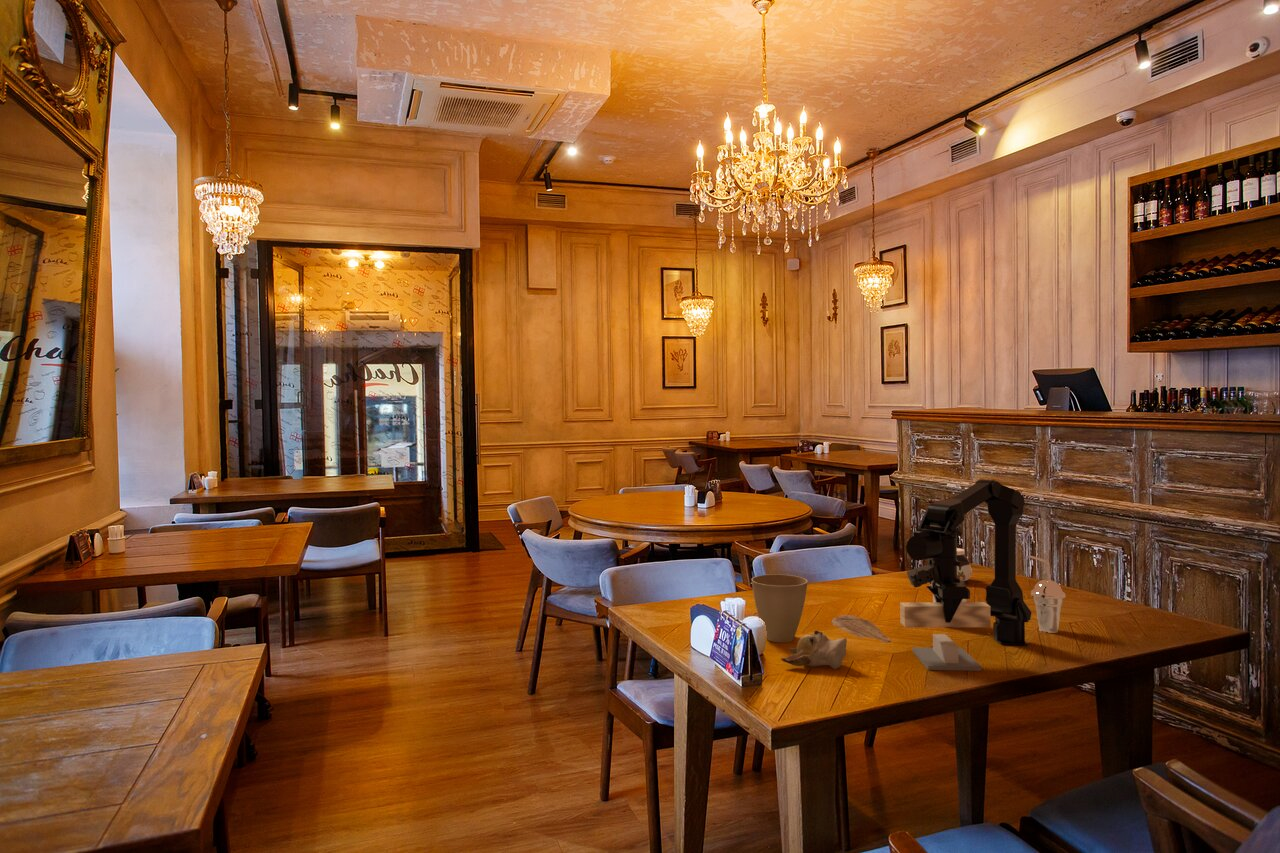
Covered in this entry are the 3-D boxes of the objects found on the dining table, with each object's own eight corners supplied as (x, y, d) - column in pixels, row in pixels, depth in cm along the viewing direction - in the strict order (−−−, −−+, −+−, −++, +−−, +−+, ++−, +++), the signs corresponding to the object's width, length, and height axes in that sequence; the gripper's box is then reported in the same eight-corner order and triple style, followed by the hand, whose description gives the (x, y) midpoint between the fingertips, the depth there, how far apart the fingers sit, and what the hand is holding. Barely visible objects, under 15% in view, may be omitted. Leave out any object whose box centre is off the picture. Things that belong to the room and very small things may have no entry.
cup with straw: (1045, 636, 201) (1044, 561, 201) (1022, 626, 210) (1021, 555, 210) (1073, 634, 202) (1072, 559, 202) (1050, 625, 211) (1049, 553, 211)
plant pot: (778, 650, 193) (777, 588, 193) (741, 636, 206) (740, 578, 205) (820, 640, 201) (819, 580, 201) (782, 627, 213) (781, 571, 213)
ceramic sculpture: (843, 637, 173) (778, 635, 179) (846, 675, 173) (781, 672, 179) (848, 625, 183) (787, 624, 189) (851, 661, 183) (789, 659, 189)
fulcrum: (961, 651, 189) (961, 632, 189) (981, 670, 175) (981, 649, 175) (912, 651, 190) (912, 631, 190) (928, 670, 176) (927, 648, 176)
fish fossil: (905, 642, 199) (905, 638, 199) (871, 649, 196) (871, 644, 196) (852, 616, 224) (851, 612, 224) (821, 622, 221) (821, 618, 221)
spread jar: (942, 584, 264) (941, 551, 264) (935, 577, 275) (934, 545, 275) (978, 585, 262) (978, 551, 262) (969, 578, 273) (969, 546, 273)
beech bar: (984, 622, 184) (983, 602, 184) (990, 627, 180) (990, 606, 180) (900, 622, 185) (900, 602, 185) (904, 627, 181) (904, 606, 181)
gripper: (900, 548, 192) (901, 609, 193) (920, 563, 174) (921, 630, 174) (945, 548, 191) (946, 610, 192) (970, 563, 173) (971, 631, 173)
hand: (945, 619), depth 183 cm, fingers closed on beech bar, 4 cm apart
